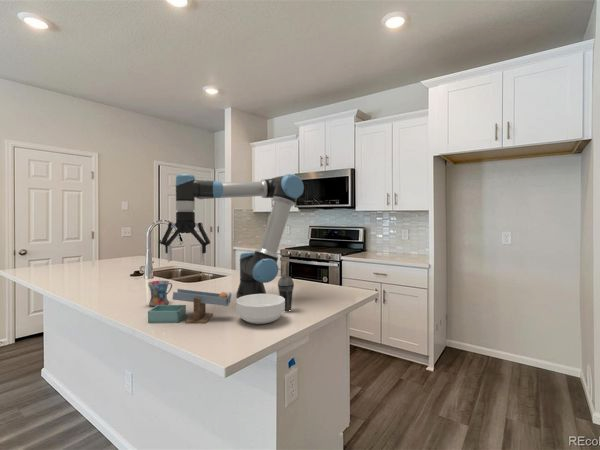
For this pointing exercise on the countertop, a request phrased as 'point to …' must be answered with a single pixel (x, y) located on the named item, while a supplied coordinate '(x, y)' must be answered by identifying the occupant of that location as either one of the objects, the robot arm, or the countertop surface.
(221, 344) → the countertop surface
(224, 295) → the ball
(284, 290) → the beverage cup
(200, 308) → the fulcrum
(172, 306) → the tray
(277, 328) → the countertop surface
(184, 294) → the blue-grey ramp
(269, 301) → the bowl
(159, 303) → the mug
